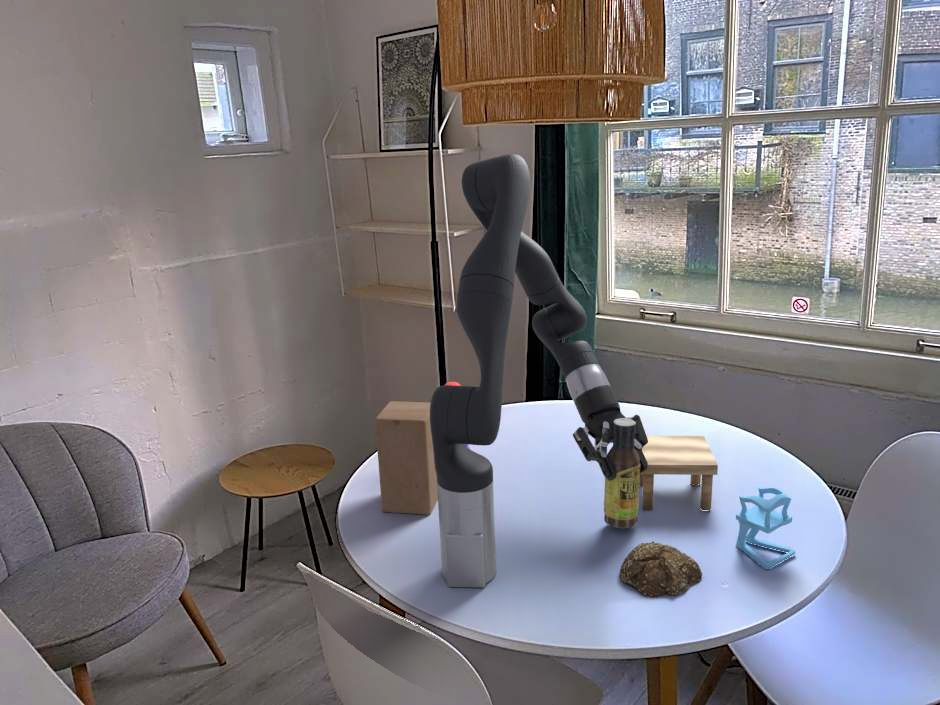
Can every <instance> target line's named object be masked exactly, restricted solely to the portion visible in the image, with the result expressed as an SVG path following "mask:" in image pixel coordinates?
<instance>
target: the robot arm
mask: <svg viewBox="0 0 940 705" xmlns="http://www.w3.org/2000/svg"><path fill="white" fill-rule="evenodd" d="M530 176H531V175H530V170H529V167H528V164H527V162H526V160H525V159H524V158H523V157H522V156H521V155H519V154H515V153H510V154H509V153H508V154H503V155H502V154H501V155H499V156H494V157H491V158H488V159H483V160H479V161H476V162H473V163H471V164H469V165H467V167H465V168H464V170H463V172H462V175H461V188H462V193H463V196H464V198H465V200H466V204H468V206H469V208H470V209H471V211H472V213H473V214H474V215H475V217H476V218H477V219H478V221H479V222H480V224H482V226H483V228H484V229H485V233H484V235H483V236H482V237H481V239H480V240H479V242H478V243H477V245H476V246H475V247H474V249H473V251H471V253H470V255H469V256H468V258H467V260H466V262H465V263H464V265H463V266H462V270H461V272H460V276H459V283H458V290H457V295H456V296H457V297H456V304H455V306H456V307H455V308H456V309H455V310H456V314H457V317H458V319H459V321H460V325H461V327H462V329H463V330H464V332H465V334H466V336H467V338H468V340H469V341H470V344H471V346H472V348H473V350H474V353H475V356H476V358H477V360H478V364H479V371H480V382H479V383H480V384H479V386H473V385H472V386H469V385H468V386H467V385H461V386H453V385H445V384H444V385H440V386H438V387H436V389H435V390H434V391H433V393H432V396H431V398H430V403H431V404H430V426H431V435H432V443H433V452H434V464H435V470H436V474H437V490H438V500H437V504H438V506H437V507H438V521H439V523H438V524H439V540H440V541H439V542H440V558H441V560H440V561H441V573H442V577H443V578H444V580H445V581H446V582H447V586H448V588H449V587H450V588H451V587H452V588H486V585H487V584H488V583H489V582H490V581H492V580H493V579H494V578H495V576H496V574H497V555H496V554H497V553H496V552H497V551H496V528H495V526H496V525H495V502H494V500H495V499H494V497H495V496H494V495H495V493H494V468H493V464H492V463H491V461H490V459H488V458H486V456H484V455H482V454H480V453H477V452H475V451H474V450H472V449H471V448H470V449H469V448H467V447H466V446H465V445H464V444H469V446H471V445H473V446H490V445H493V444H494V442H495V441H496V440H497V438H498V434H499V431H500V426H501V419H502V408H503V390H504V388H503V386H504V369H505V366H504V365H505V356H506V347H507V346H506V345H507V339H508V333H509V330H508V329H509V324H510V318H511V311H512V305H513V299H514V288H515V278H516V276H517V279H518V281H519V283H520V284H521V287H522V289H523V292H524V293H525V295H526V296H527V298H528V301H529V302H530V303H532V305H535V306H544V305H549V306H547V307H544V308H542V309H541V310H539V311H538V310H537V311H536V313H534V314H533V317H532V320H531V326H532V329H533V332H534V334H535V335H536V336H537V338H538V340H540V341H541V342H542V343H543V345H544V346H545V347H547V348H548V350H549V351H550V353H551V354H552V355H553V357H554V359H555V360H556V362H557V364H558V366H559V368H560V370H561V373H562V375H563V377H564V380H565V383H566V385H567V389H568V392H569V394H570V397H571V399H572V401H573V404H574V405H575V407H576V410H577V412H578V414H579V416H580V419H581V422H582V423H583V424H584V427H581V426H579V427H578V428H577V429H576V430H575V431H574V432H573V434H572V437H573V439H574V441H575V443H576V444H577V446H578V447H579V449H580V451H581V453H582V455H583V457H584V458H585V461H587V462H592V461H594V462H597V463H598V465H599V468H600V470H601V472H602V474H603V477H604V479H605V478H607V479H608V480H609V481H610V480H613V479H614V478H615V477H616V476H617V475H616V472H615V470H614V468H613V465H612V463H611V461H610V459H609V457H606V456H607V454H608V445H610V444H613V440H614V436H613V435H614V430H613V422H614V420H616V419H619V418H627V419H631V420H634V421H635V422H636V430H635V436H634V442H635V444H634V448H635V449H636V451H637V452H638V454H639V457H640V473H641V472H644V471H645V470H646V469H647V466H648V462H647V460H646V458H645V456H644V454H643V452H642V448H643V447H644V446H645V445H646V444H647V443H648V439H647V436H648V435H647V434H646V430H645V428H644V425H643V422H642V420H641V417H640V415H639V414H634V416H632V417H631V416H629V417H626V416H625V415H624V414H623V413H622V411H621V406H620V404H619V401H618V399H617V396H616V395H615V393H614V390H613V388H612V387H611V384H610V382H609V380H608V378H607V375H606V374H605V372H604V370H602V368H601V365H600V363H599V361H598V359H597V357H596V355H595V352H594V351H593V349H592V347H591V345H590V343H589V342H588V341H585V340H574V341H569V342H562V341H561V340H563V339H566V338H568V337H570V336H572V335H575V334H576V333H579V332H581V331H583V330H584V329H585V328H586V325H587V320H588V317H587V314H586V311H585V309H584V307H583V306H582V304H580V302H578V300H577V299H576V298H575V297H574V296H573V295H572V294H571V293H570V292H569V291H568V289H566V287H565V286H564V285H563V283H562V281H561V279H560V277H559V274H558V272H557V270H556V268H555V266H554V264H553V261H552V259H551V258H550V256H549V255H548V253H547V252H546V251H545V249H544V248H542V247H541V246H540V245H539V243H537V242H536V241H535V240H534V239H532V238H531V237H530V236H528V234H527V235H526V233H524V232H523V231H522V230H523V226H524V222H525V218H526V212H527V209H528V204H529V199H530V192H531V177H530ZM515 275H516V276H515ZM550 304H551V305H550ZM589 437H591V438H593V439H594V444H593V443H592V442H591V440H590V438H589Z"/></svg>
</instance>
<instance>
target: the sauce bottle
mask: <svg viewBox="0 0 940 705" xmlns="http://www.w3.org/2000/svg"><path fill="white" fill-rule="evenodd" d="M627 418H628V417H626V418H619V419H616V420H614V422H613V430H614V435H613V436H614V440H613V443H612V446H611V448H610V449H609V450H608V451H607V456H606V457H609V459H610V461H611V463H612V465H613V468H614V470H615V472H616V475H617V476H616V477H615V478H614V479H613V480H610V481H609V480H608V479H607V478H605V477H604V493H603V494H604V495H603V496H604V497H603V501H604V502H603V513H604V520H603V521H604V523H606V524H607V525H608V526H610V527H613V528H616V529H617V528H618V529H629V528H632V527H634V526H635V525H636V524H637V523H638V515H639V504H640V485H639V484H640V457H639V454H638V452H637V451H636V449H635V448H634V444H635V442H634V436H635V430H636V422H635V421H634V420H631V419H627Z"/></svg>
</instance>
